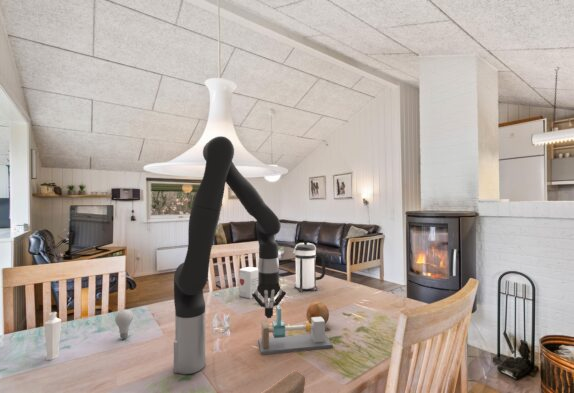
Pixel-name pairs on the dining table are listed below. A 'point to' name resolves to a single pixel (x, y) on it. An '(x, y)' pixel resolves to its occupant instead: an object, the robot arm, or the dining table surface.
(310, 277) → the coffee press
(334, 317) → the dining table surface
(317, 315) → the onion
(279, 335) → the light blue bracket block
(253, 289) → the supplement box
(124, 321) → the lightbulb
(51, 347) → the perfume bottle
